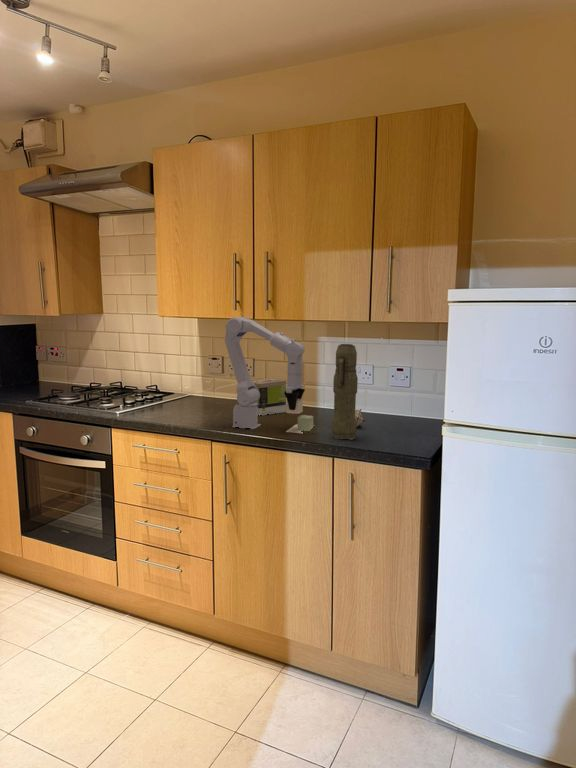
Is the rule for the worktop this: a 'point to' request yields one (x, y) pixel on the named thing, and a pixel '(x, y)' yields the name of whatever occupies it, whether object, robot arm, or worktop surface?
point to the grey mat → (294, 429)
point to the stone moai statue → (345, 392)
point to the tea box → (271, 396)
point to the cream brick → (298, 407)
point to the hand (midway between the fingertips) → (294, 408)
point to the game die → (358, 417)
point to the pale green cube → (305, 422)
